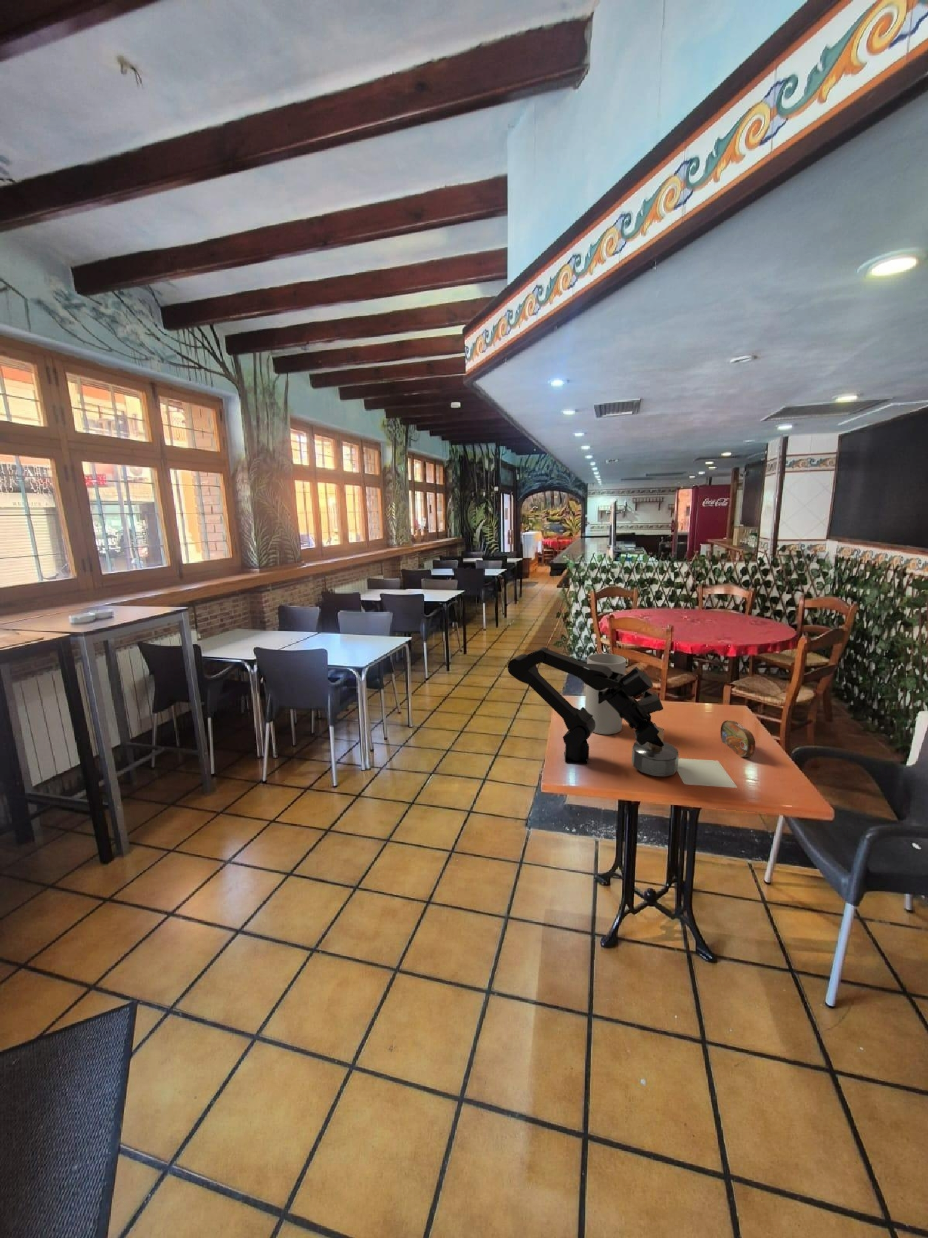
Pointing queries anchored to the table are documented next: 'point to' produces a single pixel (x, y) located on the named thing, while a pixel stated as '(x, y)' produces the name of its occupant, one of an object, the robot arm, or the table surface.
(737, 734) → the tin
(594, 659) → the cylinder vase
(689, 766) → the mat
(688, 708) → the table surface
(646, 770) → the cloche
